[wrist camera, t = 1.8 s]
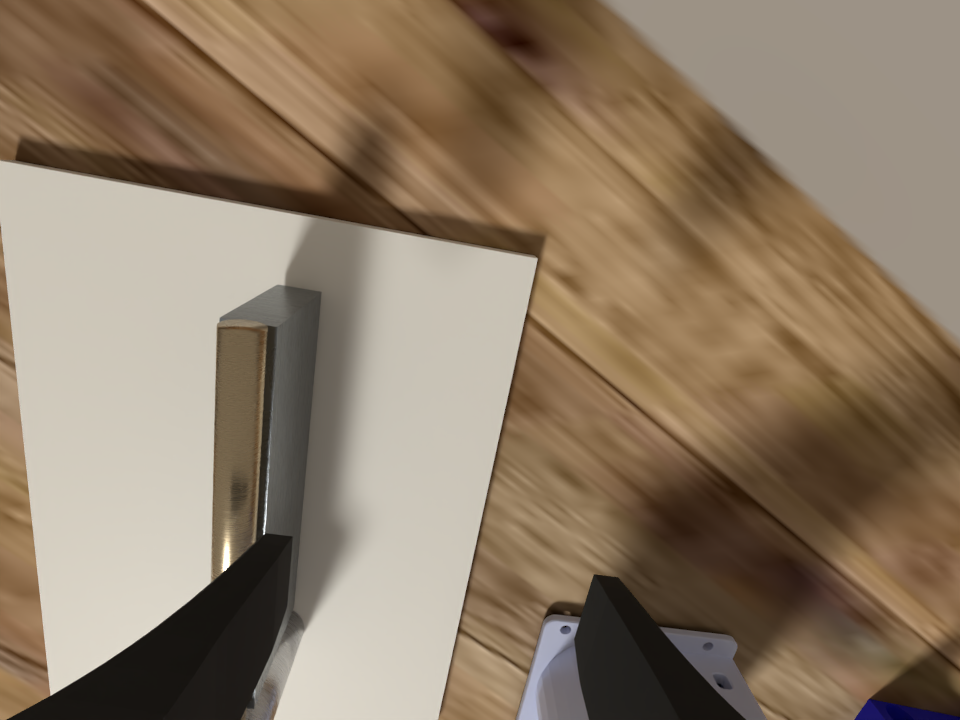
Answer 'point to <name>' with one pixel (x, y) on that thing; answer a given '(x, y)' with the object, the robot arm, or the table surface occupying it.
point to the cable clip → (898, 712)
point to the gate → (263, 428)
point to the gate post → (278, 671)
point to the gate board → (191, 409)
